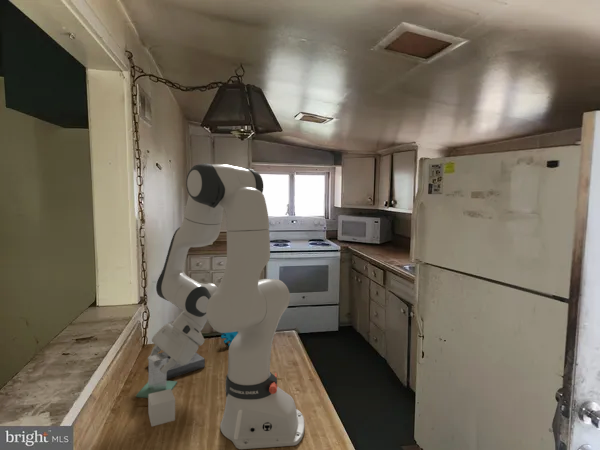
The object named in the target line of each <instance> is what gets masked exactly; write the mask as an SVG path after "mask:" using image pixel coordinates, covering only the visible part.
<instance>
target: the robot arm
mask: <svg viewBox="0 0 600 450" xmlns="http://www.w3.org/2000/svg"><path fill="white" fill-rule="evenodd" d="M185 181H186V182H185V183H186V184H185V186H186V190H187V193H188V198H187V201H186V204H185V209H184V214H183V220H182V223H181V225H180V226H179V227H178V228H177V229H176V230H175V231H174V233H173V235H172V238H171V241H170V244H169V248H168V250H167V254H166V258H165V262H164V265H163V268H162V271H161V273H160V274H159V277H158V279H157V281H156V286H155V290H156V295H158V297H160V298H161V299H164V300H165V301H168V302H169V303H171V304H173V305H174V306H175V307H177V308H179V309H180V310H182V311H181V312H180V313H179V314H178V316H177V317H176V318H175V319H174V320H172V321H170V322H168V323H165V324H164V325H162V327H161V328H160V329H159V330H157V332H156V333H155V334H154V335H153V336H152V338H151V342H152V343H153V344H154V346H153V347H152V350H151V351H150V352H151V353H150V355H148V357H147V361H149V357H150V356H153V355H157V354H159V352H160V353H161V351H162V352H165V353H166V354H167V355H169V356H170V357H171V358H170V359H169V360H168V361H169V362H168V363H167V364H165V365H162V367H161V368H160V371H161V372H162V373H164V374H165V373H166V372H167V371H168V370H169V369H170V368H172V367H173V366H175V365H176V363H179V364H180V365H182V366H184V365H186V364H187V363H188V362H189V361H190V360H191V358H192V357H193V356H194V354H195V353H197V352H198V349H199V346H202V345H203V344H204V343H205V338H204V336H203V334H202V330H203V329H204V328H205V325H206V323H207V322H208V323H209V325H210V327H211V328H213V330H215V331H216V332H218V333H220V334H222V333H229V332H238V334H237V335H236V337H235V338H234V339H233V340H232V342H231V344H230V346H228V359H227V362H228V365H227V374H226V376H225V385H224V386H225V397H226V398H225V406H224V411H223V416H222V419H221V421H220V428H219V429H220V432H221V434H222V435H223V436H224V437H225V438H227V439H228V440H230V441H231V442H232V443H233V445H234V447H235V448H236V449H239V450H247V449H248V450H249V449H250V450H251V449H263V448H264V449H265V448H276V447H277V448H278V447H291V446H297V445H298V444H299V443H300V442H301V441H302V439H303V438H304V434H305V425H306V424H305V417H304V415H303V413H302V412H301V411H300V410H299V409H298V408H297V406H296V403H295V400H294V398H293V397H292V396H291V394H289V393H287V391H284V390H283V389H282V388H280V387H279V386H278V378H277V377H278V376H277V372H274V374H273V373H272V372H271V354H272V352H271V351H272V345H273V341H274V337H275V333H276V331H277V328H278V324H279V323H280V321H281V319H282V316H283V314H284V312H285V311H286V310H287V309H288V307H289V306H290V303H291V294H290V293H291V292H290V290H289V288H288V286H287V284H285V282H283V280H280V279H277V278H263V279H262V278H261V279H260V277H261V274H262V272H263V270H264V268H265V267H266V265H268V263H269V261H270V259H271V239H270V238H271V237H270V222H269V221H270V220H269V212H268V207H267V203H266V202H267V201H266V199H265V198H266V197H265V196H264V194H263V192H264V180H263V178H262V175H261V174H260V173H259V172H257V171H256V170H254V169H252V168H249V167H241V166H237V165H236V166H234V165H230V164H223V163H222V164H221V163H214V164H213V163H212V164H211V163H209V162H207V163H198V164H195V165H194V166H192V167H191V169H190V170H189V171H188V174H187V176H186V180H185ZM224 211H225V212H224ZM224 213H225V217H226V224H225V225H226V227H225V228H226V263H225V268H224V272H223V275H222V277H221V278H222V279H221V280H220V283H219V285H218V286H217V285H216V284H214V283H212V282H208V283H201V282H198V281H197V280H195V279H193V278H191V277H189V276H188V275H187V274H186V273H185V271H184V265H185V263H186V259H187V256H188V253H189V249H191V248H202V247H207V246H209V245H212V244H213V243H214V242H215V241H216V240H217V239H218V238H219V235H220V233H221V229H222V223H223V217H224Z"/></svg>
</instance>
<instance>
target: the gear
mask: <svg viewBox="0 0 600 450" xmlns="http://www.w3.org/2000/svg"><path fill="white" fill-rule="evenodd" d="M238 332H239V331H237V332H229V333H221V335H220V339H224V340H223V344H227V343H228V342H229V343H228V344H227V346H228V347H229V346H230V344H231V342H232V340H233V339H234V338H235V337H236V335H237V334H238Z"/></svg>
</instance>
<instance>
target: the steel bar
mask: <svg viewBox="0 0 600 450" xmlns="http://www.w3.org/2000/svg"><path fill="white" fill-rule="evenodd" d="M160 353H161V354H159V353H157V355H153V356H150V357H149V356H148V357H149V360H148V381H149V382H148V381H147V382H148V388H149V389H150V390H151V391H152V392H153V393H155V392H158V391H161V390H164V389H166V382H167V381H168V379H167V372H166V373H165V374H164V373H162V372H161V371H160V368H161V367H162V365H165V364H167V358H166V357H165V356H164V355H163V354H162V353H163V352H160Z"/></svg>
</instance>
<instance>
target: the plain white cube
mask: <svg viewBox="0 0 600 450" xmlns="http://www.w3.org/2000/svg"><path fill="white" fill-rule="evenodd" d="M147 399H148V406H147V407H148V409H147V411H148V413H147V414H148V419H149V421H150V422H149V423H150V426H151V427H156V426H159V425H163V424H166V423H170V422H175V420H176V398H175V396H174V393H173V390H171V389H168V390H164V391H159V392H155V393H151V394H148V398H147Z"/></svg>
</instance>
